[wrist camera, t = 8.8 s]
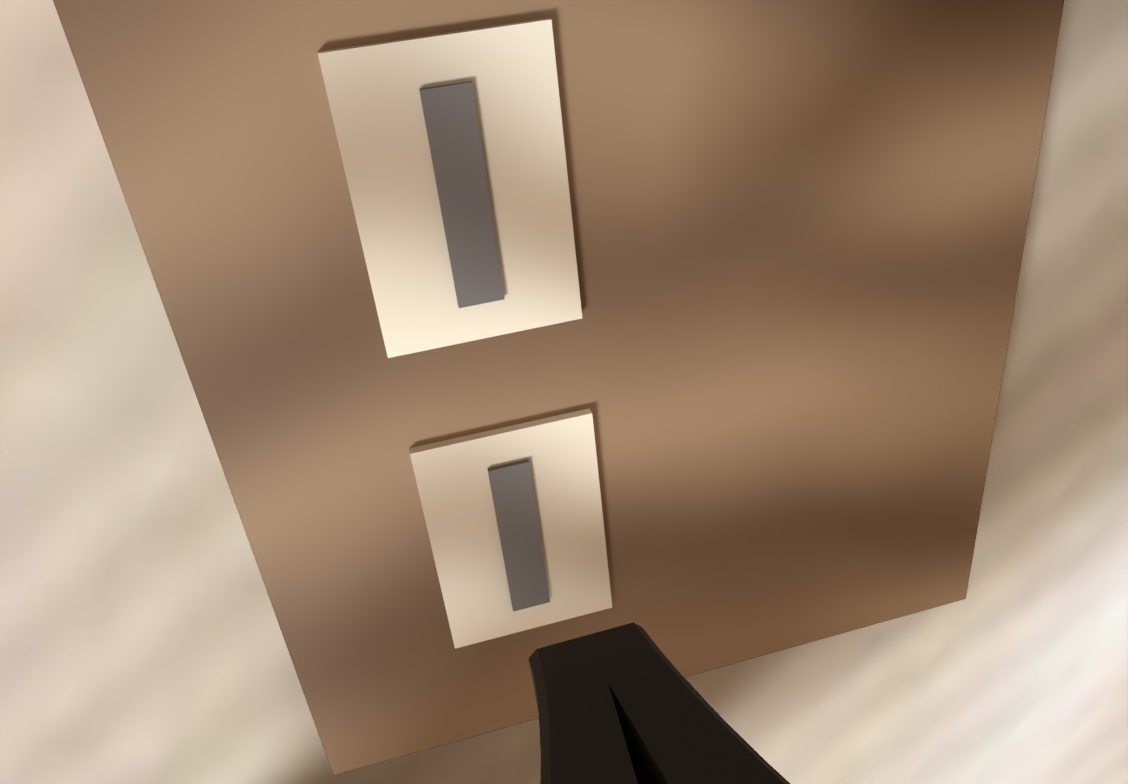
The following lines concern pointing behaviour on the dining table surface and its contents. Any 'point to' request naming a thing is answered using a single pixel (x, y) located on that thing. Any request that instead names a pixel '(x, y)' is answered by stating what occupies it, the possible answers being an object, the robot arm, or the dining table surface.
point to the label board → (579, 315)
